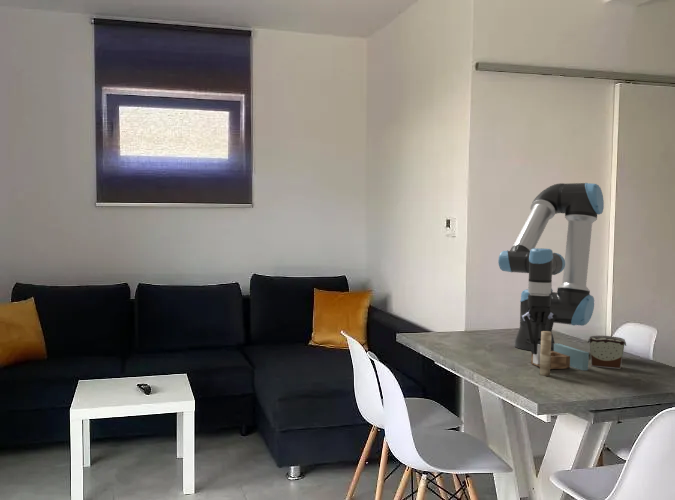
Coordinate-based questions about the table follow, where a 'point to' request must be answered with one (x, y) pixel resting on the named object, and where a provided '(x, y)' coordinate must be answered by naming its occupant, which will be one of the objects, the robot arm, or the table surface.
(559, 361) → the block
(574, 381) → the table surface
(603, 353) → the food container
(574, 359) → the wall
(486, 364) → the table surface
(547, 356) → the dowel
